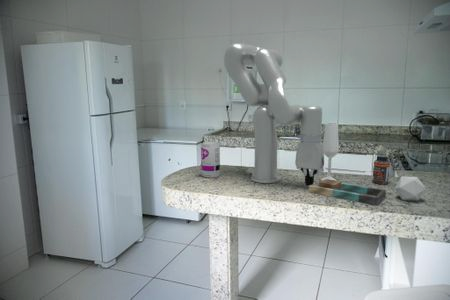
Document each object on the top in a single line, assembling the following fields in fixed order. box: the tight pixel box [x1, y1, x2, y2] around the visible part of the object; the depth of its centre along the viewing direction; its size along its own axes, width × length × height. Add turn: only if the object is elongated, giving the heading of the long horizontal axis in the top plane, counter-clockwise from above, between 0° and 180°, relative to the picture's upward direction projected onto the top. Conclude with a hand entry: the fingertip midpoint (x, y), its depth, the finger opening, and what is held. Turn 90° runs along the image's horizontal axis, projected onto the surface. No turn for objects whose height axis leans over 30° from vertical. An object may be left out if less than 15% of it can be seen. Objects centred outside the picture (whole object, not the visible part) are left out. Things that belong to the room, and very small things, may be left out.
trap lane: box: [308, 178, 387, 206], centre depth 119 cm, size 24×11×2 cm, turn 52°
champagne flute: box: [321, 122, 340, 181], centre depth 136 cm, size 7×7×24 cm
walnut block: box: [318, 179, 343, 191], centre depth 123 cm, size 6×6×4 cm
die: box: [394, 176, 427, 202], centre depth 113 cm, size 8×9×10 cm
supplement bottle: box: [371, 154, 391, 185], centre depth 133 cm, size 6×6×11 cm
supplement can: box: [200, 141, 221, 179], centre depth 146 cm, size 8×8×15 cm
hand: (309, 185), depth 128 cm, fingers closed
